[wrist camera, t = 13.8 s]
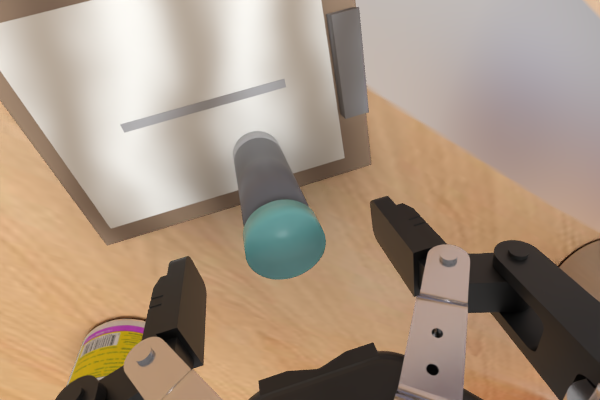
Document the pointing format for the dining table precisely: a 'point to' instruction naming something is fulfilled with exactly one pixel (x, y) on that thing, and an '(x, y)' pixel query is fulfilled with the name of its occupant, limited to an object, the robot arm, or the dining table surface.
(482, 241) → the dining table surface
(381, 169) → the dining table surface
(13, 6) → the clipboard
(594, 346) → the robot arm
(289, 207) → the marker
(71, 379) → the supplement bottle
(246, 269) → the dining table surface
